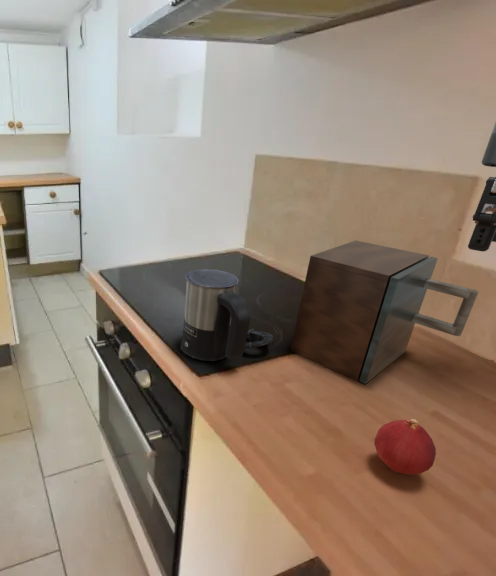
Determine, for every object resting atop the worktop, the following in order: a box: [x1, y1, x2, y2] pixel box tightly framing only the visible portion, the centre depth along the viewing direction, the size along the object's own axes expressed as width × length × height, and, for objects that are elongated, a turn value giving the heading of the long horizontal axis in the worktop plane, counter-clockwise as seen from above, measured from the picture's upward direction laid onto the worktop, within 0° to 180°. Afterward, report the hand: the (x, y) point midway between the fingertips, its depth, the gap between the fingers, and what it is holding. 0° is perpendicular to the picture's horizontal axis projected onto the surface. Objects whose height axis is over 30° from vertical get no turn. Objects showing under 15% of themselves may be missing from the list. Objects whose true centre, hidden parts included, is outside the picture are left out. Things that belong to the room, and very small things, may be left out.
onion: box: [373, 418, 437, 475], centre depth 45 cm, size 6×6×8 cm
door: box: [358, 256, 479, 385], centre depth 62 cm, size 8×17×19 cm, turn 126°
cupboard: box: [290, 240, 430, 382], centre depth 69 cm, size 12×17×19 cm
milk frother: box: [179, 268, 274, 362], centre depth 71 cm, size 14×16×15 cm
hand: (485, 245), depth 58 cm, fingers open, 8 cm apart
